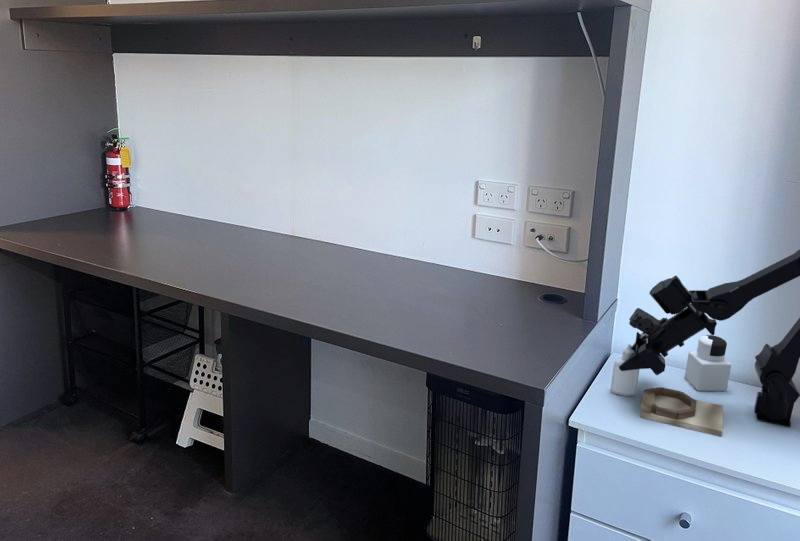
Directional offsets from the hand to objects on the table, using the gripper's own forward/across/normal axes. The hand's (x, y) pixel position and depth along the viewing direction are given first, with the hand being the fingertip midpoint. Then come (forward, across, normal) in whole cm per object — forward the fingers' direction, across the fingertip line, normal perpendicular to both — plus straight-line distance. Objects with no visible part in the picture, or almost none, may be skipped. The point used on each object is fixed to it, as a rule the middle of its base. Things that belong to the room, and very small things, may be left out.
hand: (620, 365), depth 153 cm
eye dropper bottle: (+4, 0, +6) cm, 7 cm away
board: (-5, +6, +14) cm, 16 cm away
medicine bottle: (-9, -12, +19) cm, 24 cm away
